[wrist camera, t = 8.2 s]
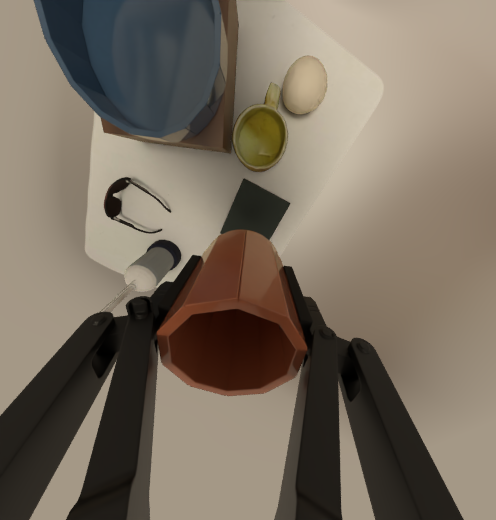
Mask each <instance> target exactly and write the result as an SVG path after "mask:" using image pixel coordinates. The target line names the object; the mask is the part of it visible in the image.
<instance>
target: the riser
mask: <svg viewBox="0 0 496 520" xmlns="http://www.w3.org/2000/svg"><path fill="white" fill-rule="evenodd" d="M219 4H220V9H221V13H222V18H223V23H224V28H225V33H226V37H227V42H228V56H227V60H228V67H227V79H226V87H225V89H224V93H223V96H222V100H221V102H220V105H219V107H218V109H217V111H216V114H215V116H214V117H213V118H212V120H211V121H210V122H209V123H208V125H207V126H206V127H205V128H204V129H203V130H202V131H201V132H199V133H198V134H197V135H196V136H193V137H191V138H189V139H187V140H183V141H179V142H177V143H170V142H162V141H155V140H149V139H146V138H142V137H138V136H135V135H131V134H129V133H127V132H125V131H123V130H122V129H120V128H118V127H117V126H115V125H113V124H111V123H110V122H108V121H106V120H104V119H103V118H101V121H102V126H103V130H104V133H109V134H113V135H117V136H121V137H125V138H129V139H134V140H138V141H142V142H148V143H156V144H163V145H171V146H178V147H186V148H193V149H201V150H209V151H216V152H224V153H231V143H232V126H233V110H234V93H235V76H236V59H237V42H238V26H239V24H238V15H237V5H236V0H219Z"/></svg>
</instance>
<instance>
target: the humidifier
mask: <svg viewBox="0 0 496 520" xmlns="http://www.w3.org/2000/svg"><path fill="white" fill-rule="evenodd" d="M180 260H181V252H180V250H179V248H178V247H177V246H176V245H175V244H174V243H172V242H170V241H167V240H159V241H156V242H155V243H153V244H152V245H151V246H150V247H149V248H148V249H147V252H146V253H145V254H144V255H143V256H141V257H140V258H139V259H138V260H136V261H135V262H134V263H133V264H131V265H130V266H129V267H128V268H127V269H126V271H125V274H124V279H125V281H126V284H127V285H128V286H129V287H128V286H127V287H128V288H127V287H126V288H127V289H126V290H125V291H124V292H123V293H122V294H121V295H120V296H119V297H118V298H117V299H116V300H115V301H114V302H113V303H112V304H111V305H110V306H109V307H108V308H107V309H106V310H105V311H104V312H111V311H112V310H113V309H114V308H115V307H116V306H117V305H118V304H119V303H120V302H121V301H122V300H123V299H124V298H125V297H126V296H127V295H128V294H129V293H130V292H131V291H132V290H135V291H138V292H146V291H149V290H152V289H153V288H154V287H155V286H157V285H158V283H159V282H160V281H161V280H162V279H163V277H164V276H165V275H166V274H167V272H168V271H170V270H172V269H173V268H175V267H176V266H177V265H178V263H179V262H180ZM118 295H119V294H118ZM115 298H116V297H115ZM110 303H111V302H110ZM108 305H109V304H108ZM102 310H103V309H102ZM100 312H101V311H100Z"/></svg>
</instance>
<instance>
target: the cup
mask: <svg viewBox="0 0 496 520" xmlns="http://www.w3.org/2000/svg"><path fill="white" fill-rule="evenodd" d="M156 335H157V341H158V346H159V351H160V357H161V362H162V363H163V365H164V366H165V367H166V368H168V369H169V370H170V371H171V372H172V373H174V374H175V375H176V376H177V377H179V378H180V379H181V380H182V381H184V382H185V383H186V384H187V385H190V386H191V387H195V388H198V389H202V390H206V391H210V392H213V393H217V394H221V395H224V396H226V395H227V396H237V395H250V394H263V393H264V392H265V393H266V392H268V391H270V390H272V389H274V388H276V387H278V386H280V385H282V384H284V383H286V382H288V381H289V380H291V379H293V378H295V376H296V375H297V373H298V371H299V369H300V366H301V364H302V362H303V359H304V357H305V355H306V352H307V350H308V349H307V344H306V341H305V337H304V334H303V331H302V328H301V324H300V321H299V318H298V314H297V311H296V308H295V304H294V301H293V298H292V295H291V291H290V288H289V285H288V281H287V278H286V275H285V271H284V268H283V265H282V261H281V259H280V257H279V256H278V253H277V251H276V249H275V247H274V246H273V244H272V242H270V240H268V239H267V238H266V237H264V236H263V235H261V234H259V233H257V232H254V231H250V230H232V231H229V232H226V233H224V234H221V235H219V236H218V237H217V238H216V239H215V240H214V241H213V242H212V243H211V244H210V246H209V247H208V248H207V249H206V250H205V251H204V253H203V255H202V256H201V258H200V260H199V261H198V263H197V265H196V267H195V268H194V270H193V272H192V273H191V275H190V277H189V278H188V280H187V282H186V283H185V285H184V287H183V288H182V290H181V292H180V294H179V295H178V297H177V299H176V300H175V302H174V304H173V305H172V307H171V309H170V310H169V312H168V314H167V315H166V317H165V319H164V321H163V322H162V324H161V326H160V327H159V329H158V331H157V334H156Z"/></svg>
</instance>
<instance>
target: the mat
mask: <svg viewBox="0 0 496 520" xmlns="http://www.w3.org/2000/svg"><path fill="white" fill-rule="evenodd" d="M289 205H290V203H289V202H287V201H285V200H283V199H281V198H279V197H278V196H276V195H274V194H272V193H270V192H268V191H266V190H264V189H263V188H261V187H259V186H257V185H255V184H253V183H251V182H249V181H248V180H246V179H243V181H242V183H241V186H240V188H239V190H238V193H237V195H236V197H235V200H234V202H233V204H232V207H231V209H230V211H229V214H228V216H227V218H226V221H225V223H224V225H223V228H222V230H221V232H220V233H221V234H224V233H226V232H229V231H232V230H250V231H254V232H257V233H259V234H261V235H263V236H264V237H266V238H267V239H268V240H270V238H271V236H272V234H273V233H274V231H275V229H276V228H277V226H278V224H279V222H280V221H281V219H282V217H283V216H284V214H285V212H286V210H287V209H288V207H289Z"/></svg>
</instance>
